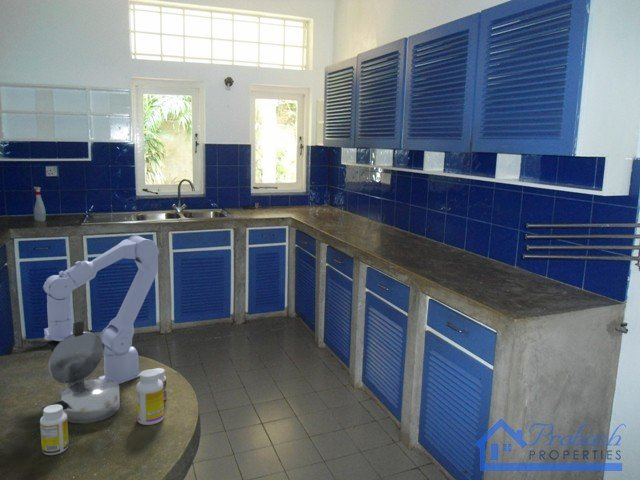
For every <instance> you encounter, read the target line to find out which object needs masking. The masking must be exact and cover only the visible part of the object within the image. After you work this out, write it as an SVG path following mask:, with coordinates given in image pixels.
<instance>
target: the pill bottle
mask: <svg viewBox="0 0 640 480" xmlns="http://www.w3.org/2000/svg"><path fill="white" fill-rule="evenodd" d="M154 369H155V370H158V371H159V378H158V379H159V380H161V381H162V383H163V399H164V401H165V400H166V399H167V396H168V395H167V376H166V372H165V368H162V367H156V368H154Z"/></svg>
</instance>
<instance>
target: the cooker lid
mask: <svg viewBox="0 0 640 480" xmlns="http://www.w3.org/2000/svg"><path fill="white" fill-rule="evenodd" d="M84 328H85V322H84V321H82V320H81V321H78V322H77V321H76V322H73V324H72V333H73V334H71V335H69V336H68V337H66V338H65V339H63V340H62V341H61V342H60V343H59V344H58V345H57V346H56V347H55V349H54V350H53V352H52V351H51V353H50V356H49V359H48V364H47V366H48V371H49V374H50V376H51V377H52V378H53V379H54V380H55V381H57V382H58V383H61V384H67V387H69V386H71V385H73V384H76V383H79V382H82V381H85V379H86V378H87V377H88V376H90V375H91V374H92V373H93V372H94V371H95V370H96V368H97V367H98V366H99V364H100V363H101V360H102V357H103V355H104V344H103V343H102V342H101V339H100V336H99V337H98V336H97V335H96V334H95V333H93V332H91V331H85V329H84Z"/></svg>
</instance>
